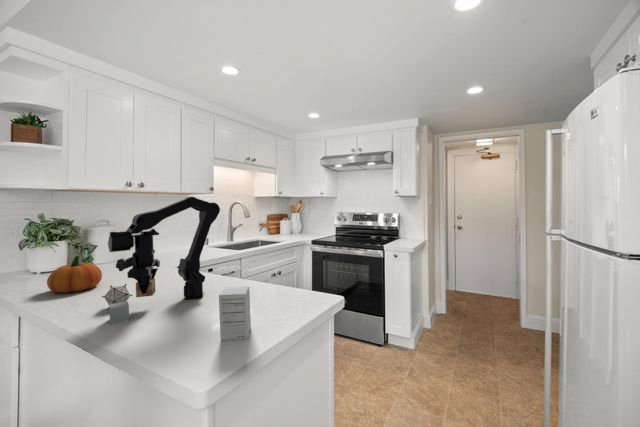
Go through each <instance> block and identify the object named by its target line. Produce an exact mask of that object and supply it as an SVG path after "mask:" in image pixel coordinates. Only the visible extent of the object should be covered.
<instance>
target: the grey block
mask: <svg viewBox="0 0 640 427" xmlns="http://www.w3.org/2000/svg"><path fill="white" fill-rule="evenodd" d="M108 307H109V322H110V325H113V324H117V323H122V322H126V321H130V304H129V302H128V300H127V301H126V302H121V303H115V304H110V305H108Z"/></svg>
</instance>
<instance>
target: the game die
mask: <svg viewBox="0 0 640 427" xmlns="http://www.w3.org/2000/svg"><path fill="white" fill-rule="evenodd" d="M109 287H110V288H109V289H108V291H106V293H105V295H102V296H101V298H104V300H105V301H106V302H107V305H108V307H107V309H109V305H110V304H115V303H121V302H126V301H127V302H128V300H129V298H130V297H132V296H133V294H130V292H129V290H128V288H127V283H125V284H124V285H120V286H117V285H116V286H112V285H111V284H110V286H109Z"/></svg>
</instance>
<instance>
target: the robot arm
mask: <svg viewBox="0 0 640 427" xmlns="http://www.w3.org/2000/svg"><path fill="white" fill-rule="evenodd" d="M190 208H191V209H193V210H195V211H197V212H198V218H199V220H198V221H199V222H198V225H197V227H196V231H195V234H194V236H193V239H192V242H191V246H190V248H189V251H188V254H187V255H186V257H184V258H180V260H179V265H178V266H177V267H176V269H177V273H178V276H180V277H181V278H182V279H183V281H184V286H183V297H184V300H192V299H195V300H196V299H201V298H203V296H204V288H203V283H204V282H205V280H206V276H205V275H204V274H203V273H201V272H200V269H201V255H202V252H203V249H204V246H205V243H206V240H207V237H208V235H209V231H210V229H211V227H212V226H211V225H212V224H213V223H214V222H215V221H216V220H217V218H218V216H219V214H220V212H221V208H220V206H219V204H218V203H216V202H209V201H206V200H202V199H199V198H198V197H195V196H188V197H185V198H184V199H181V200H178V201H176V202H174V203H170V204H169V205H166V206H164V207H161V208H159V209H157V210H151V211H146V212H141V213H137V214H136V215H134V216H133V217H132V220H131V224H130V225H129V227H128V228H127V230H125V231H109V234H108V241H107V246H108V250H109V251H108V252H110V253H116V252H125V251H131V249H133V247H134V252H133V253H132V254H131V255H132V256H131V257H128V258H124V257H122V258H120V259H117V260H116V263H115V268H116V269H118V271H119V272H123V271H124V270H127V269H129V268H130V269H129V270H128V271H127V272H126V273H127V279H134V280H136V282H138V284H139V286H140V289H141V292H142V294H145V293H146V292H147V289H148V286H149V283H150V280H151V279H155V277H156V275H157V272H158V270H159V267H160V266H161V260H159V259H158V258H155V256H154V255H155V253H156V250H155V249H154V236H159V235H160V233H159V232H158V231H157V230H156V229H155V228H153V227H155V226H157V225H158V224H160V223H161V222H162V221H163V220H165V219H168V218H169V217H172V216H174V215H176V214H178V213H181V212H183V211H186V210H188V209H190ZM154 267H156V268H154Z"/></svg>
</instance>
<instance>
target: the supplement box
mask: <svg viewBox="0 0 640 427" xmlns="http://www.w3.org/2000/svg"><path fill="white" fill-rule="evenodd" d="M250 292H251V291H250V286H231V287H224V288H223V290H222V291H221V292H220V293H219V295H218V303H219V304H218V309H219V311H218V312H219V313H218V314H219V330H220V331H219V334H220V337H219V338H220V341H237V340H247V339H248V338H249V335H250V333H251V329H252V325H251V324H252V323H251V321H252V320H251V296H250Z"/></svg>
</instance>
